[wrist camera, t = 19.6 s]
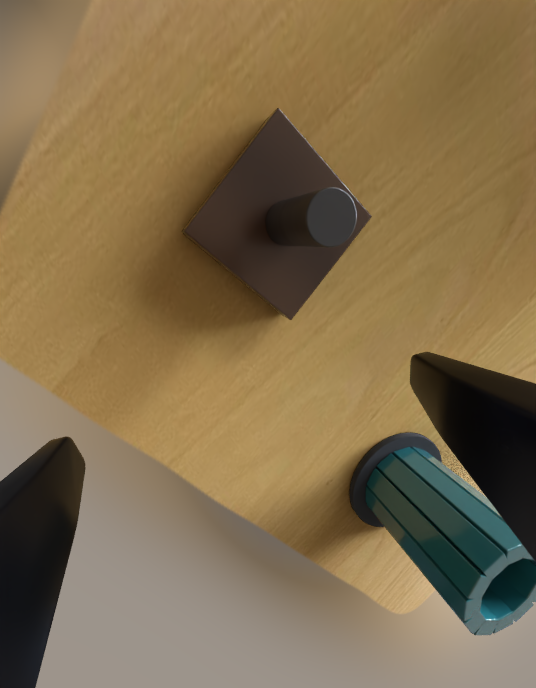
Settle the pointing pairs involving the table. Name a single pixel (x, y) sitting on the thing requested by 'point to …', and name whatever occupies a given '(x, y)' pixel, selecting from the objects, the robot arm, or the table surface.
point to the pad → (371, 462)
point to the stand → (278, 217)
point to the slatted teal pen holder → (454, 539)
